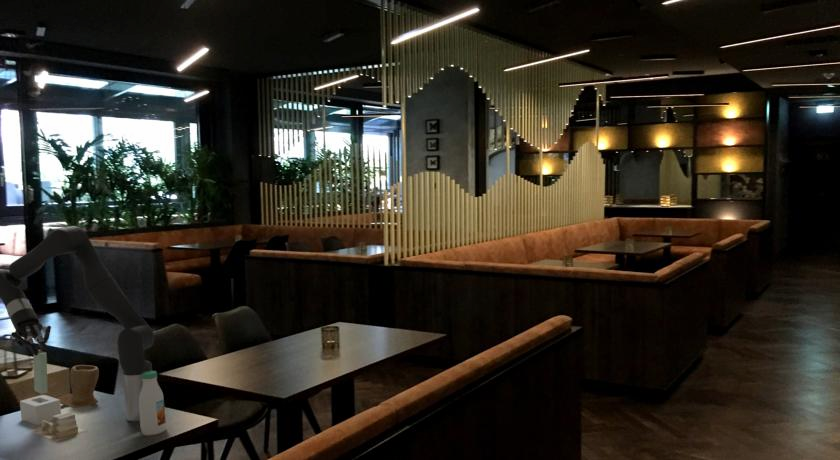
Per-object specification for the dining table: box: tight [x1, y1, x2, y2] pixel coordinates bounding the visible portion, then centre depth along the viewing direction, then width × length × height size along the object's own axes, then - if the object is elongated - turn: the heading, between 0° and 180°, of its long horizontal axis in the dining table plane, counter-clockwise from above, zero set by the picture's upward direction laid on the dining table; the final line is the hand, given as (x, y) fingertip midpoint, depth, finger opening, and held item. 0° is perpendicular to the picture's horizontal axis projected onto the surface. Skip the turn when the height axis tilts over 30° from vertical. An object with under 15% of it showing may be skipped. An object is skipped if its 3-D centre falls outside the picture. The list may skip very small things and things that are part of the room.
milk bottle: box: [139, 370, 167, 436], centre depth 219 cm, size 8×8×20 cm
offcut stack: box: [51, 411, 79, 438], centre depth 217 cm, size 6×6×6 cm
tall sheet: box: [32, 349, 48, 395], centre depth 228 cm, size 5×2×14 cm, turn 55°
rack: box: [30, 420, 87, 442], centre depth 220 cm, size 18×10×4 cm, turn 54°
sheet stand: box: [19, 394, 62, 426], centre depth 233 cm, size 12×8×8 cm, turn 54°
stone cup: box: [57, 364, 100, 408], centre depth 252 cm, size 15×12×15 cm
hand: (41, 353), depth 227 cm, fingers closed on tall sheet, 2 cm apart
